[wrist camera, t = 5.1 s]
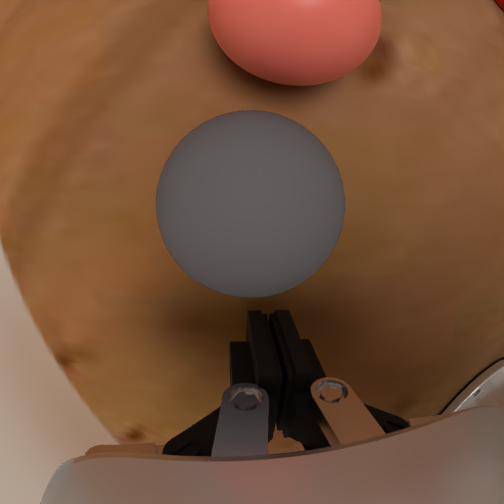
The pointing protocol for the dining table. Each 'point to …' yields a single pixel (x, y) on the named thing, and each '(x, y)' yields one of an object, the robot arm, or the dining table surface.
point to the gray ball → (250, 204)
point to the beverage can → (500, 3)
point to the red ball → (296, 37)
